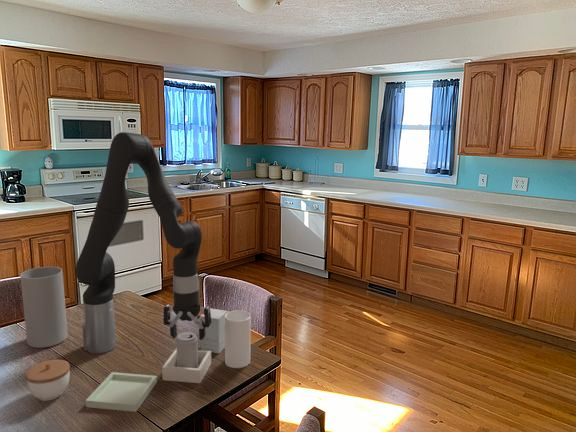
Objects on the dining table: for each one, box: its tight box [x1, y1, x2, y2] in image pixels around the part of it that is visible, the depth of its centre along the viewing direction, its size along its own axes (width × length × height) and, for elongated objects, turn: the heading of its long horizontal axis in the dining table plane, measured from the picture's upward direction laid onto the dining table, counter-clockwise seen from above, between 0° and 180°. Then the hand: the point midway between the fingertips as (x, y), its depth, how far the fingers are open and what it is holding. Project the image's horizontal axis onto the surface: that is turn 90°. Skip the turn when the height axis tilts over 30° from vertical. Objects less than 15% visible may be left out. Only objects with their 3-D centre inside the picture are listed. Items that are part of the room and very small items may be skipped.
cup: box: [224, 309, 252, 369], centre depth 139 cm, size 8×8×16 cm
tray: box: [85, 371, 158, 413], centre depth 122 cm, size 14×14×2 cm
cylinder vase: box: [19, 266, 69, 349], centre depth 149 cm, size 12×12×25 cm
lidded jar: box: [25, 359, 71, 402], centre depth 121 cm, size 11×11×9 cm
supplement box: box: [199, 307, 229, 354], centre depth 148 cm, size 7×7×13 cm
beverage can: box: [175, 331, 199, 368], centre depth 133 cm, size 6×6×12 cm
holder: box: [161, 347, 212, 384], centre depth 134 cm, size 12×12×4 cm
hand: (188, 338), depth 132 cm, fingers open, 8 cm apart
